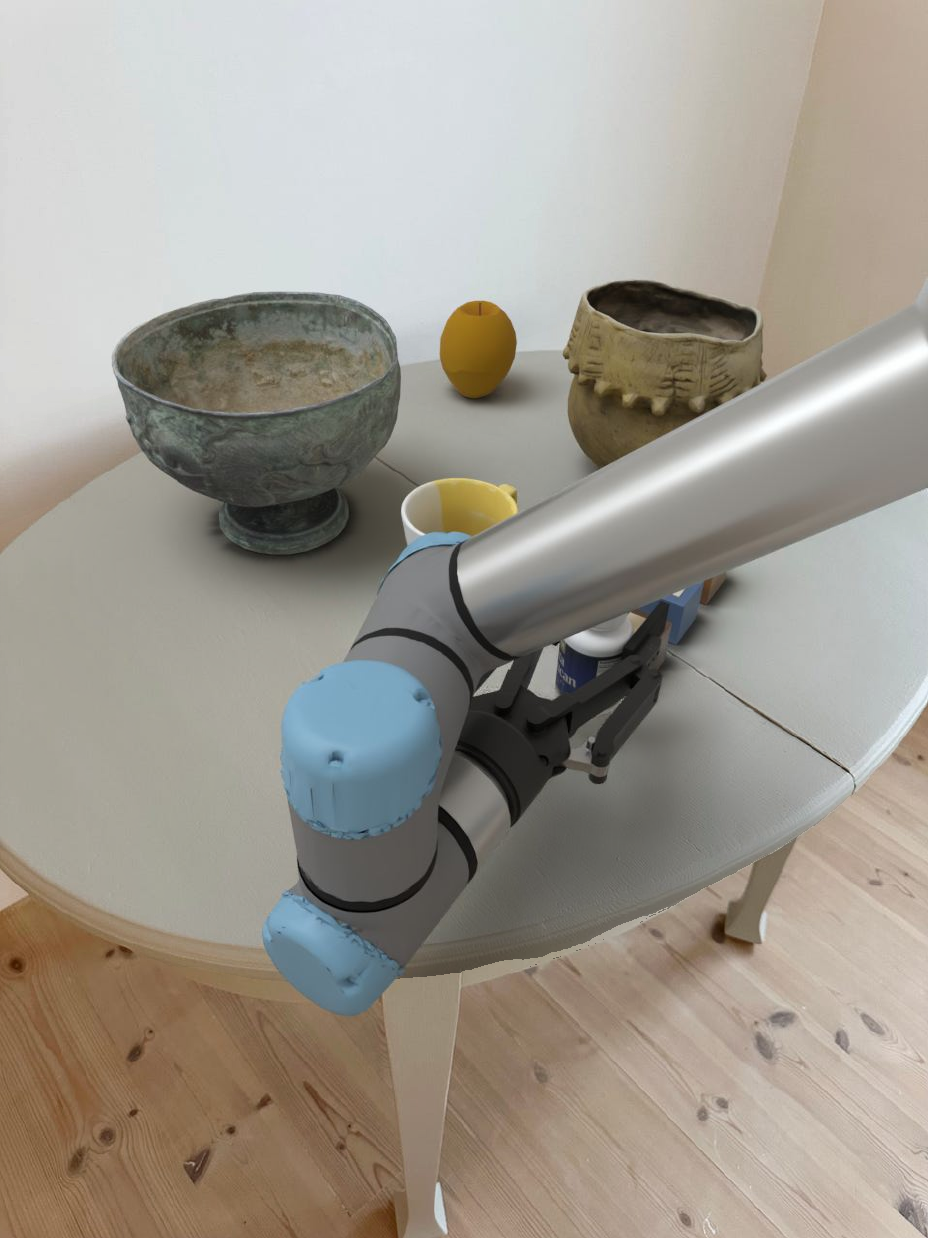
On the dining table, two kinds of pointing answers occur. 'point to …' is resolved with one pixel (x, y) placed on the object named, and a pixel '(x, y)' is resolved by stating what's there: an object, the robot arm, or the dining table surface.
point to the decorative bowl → (264, 407)
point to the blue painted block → (680, 610)
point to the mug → (456, 507)
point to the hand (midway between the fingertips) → (626, 601)
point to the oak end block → (711, 587)
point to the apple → (477, 348)
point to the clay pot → (655, 362)
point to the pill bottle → (591, 654)
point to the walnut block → (639, 617)
